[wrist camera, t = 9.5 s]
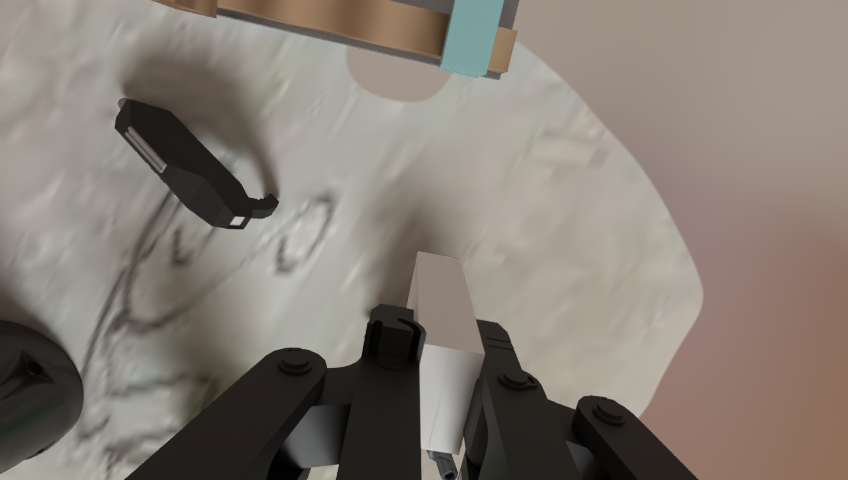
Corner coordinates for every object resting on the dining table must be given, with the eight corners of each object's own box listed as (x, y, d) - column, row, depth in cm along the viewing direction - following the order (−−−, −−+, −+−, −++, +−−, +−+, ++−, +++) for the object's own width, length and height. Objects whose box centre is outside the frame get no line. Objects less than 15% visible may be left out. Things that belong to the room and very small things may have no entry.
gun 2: (201, 111, 48) (101, 79, 38) (305, 214, 43) (220, 205, 34) (187, 135, 48) (86, 108, 39) (288, 238, 44) (200, 236, 34)
